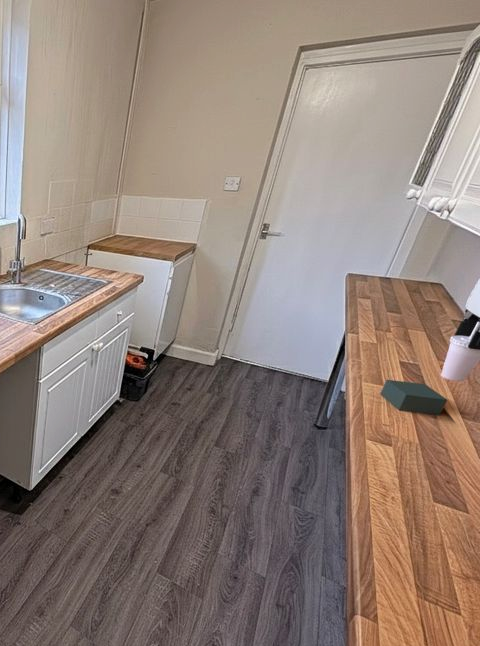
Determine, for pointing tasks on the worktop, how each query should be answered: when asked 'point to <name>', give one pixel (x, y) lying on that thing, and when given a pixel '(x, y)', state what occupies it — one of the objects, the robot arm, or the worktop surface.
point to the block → (413, 397)
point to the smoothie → (460, 358)
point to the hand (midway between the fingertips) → (470, 342)
